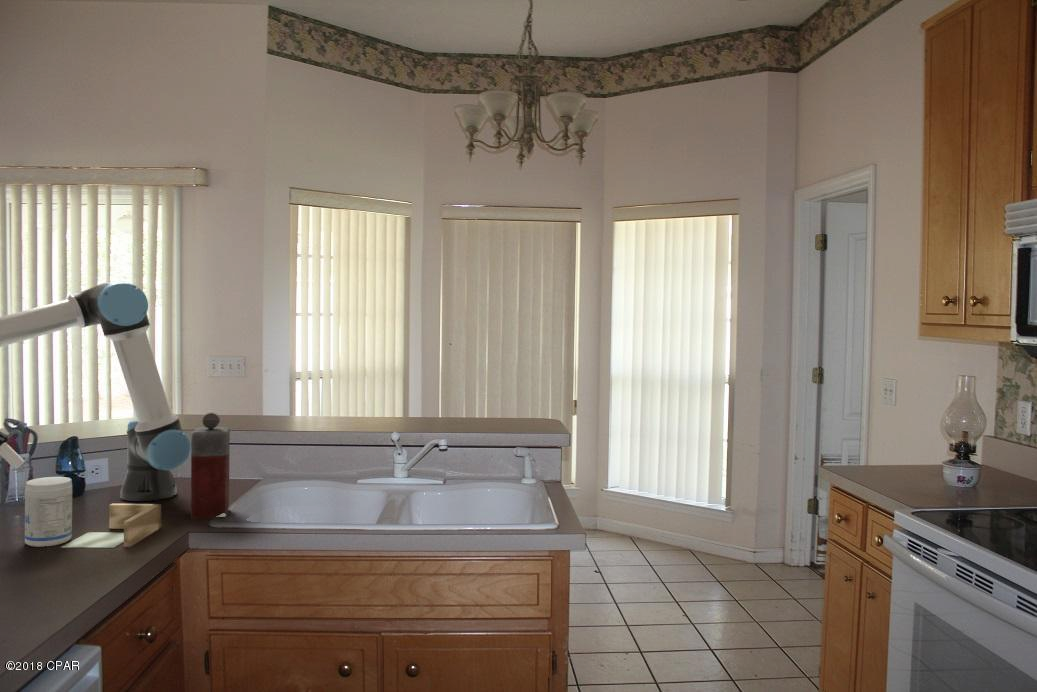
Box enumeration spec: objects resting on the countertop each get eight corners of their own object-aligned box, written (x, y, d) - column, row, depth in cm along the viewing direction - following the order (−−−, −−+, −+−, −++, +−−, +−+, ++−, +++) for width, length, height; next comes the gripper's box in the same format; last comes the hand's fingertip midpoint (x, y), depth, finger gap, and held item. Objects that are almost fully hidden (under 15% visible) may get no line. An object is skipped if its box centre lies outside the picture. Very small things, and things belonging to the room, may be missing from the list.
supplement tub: (20, 540, 179) (21, 479, 179) (66, 533, 186) (66, 474, 185) (29, 550, 172) (29, 486, 172) (76, 542, 179) (76, 481, 178)
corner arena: (61, 547, 175) (61, 522, 175) (100, 526, 193) (100, 503, 192) (128, 548, 176) (128, 522, 175) (161, 527, 193) (161, 504, 193)
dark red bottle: (229, 507, 215) (230, 409, 214) (226, 517, 204) (227, 414, 203) (195, 508, 212) (196, 409, 211) (190, 519, 202) (191, 414, 201)
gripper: (-39, 410, 189) (23, 471, 190) (-118, 424, 164) (-47, 493, 166) (-17, 390, 189) (44, 450, 191) (-93, 400, 164) (-22, 470, 166)
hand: (2, 470), depth 178 cm, fingers open, 13 cm apart
